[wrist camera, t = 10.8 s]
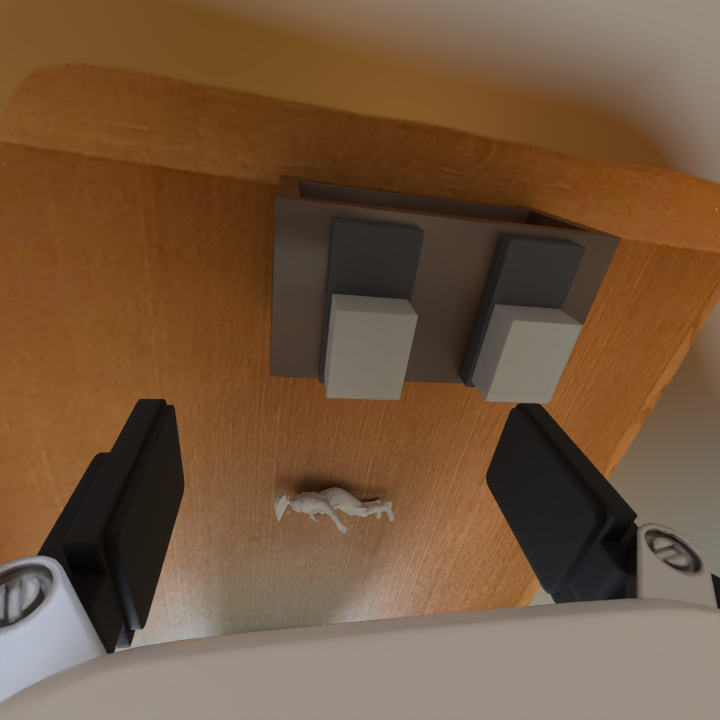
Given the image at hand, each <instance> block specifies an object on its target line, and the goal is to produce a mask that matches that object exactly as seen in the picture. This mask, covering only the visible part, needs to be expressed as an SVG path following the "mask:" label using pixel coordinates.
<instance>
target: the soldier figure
mask: <svg viewBox="0 0 720 720" xmlns="http://www.w3.org/2000/svg"><path fill="white" fill-rule="evenodd" d="M316 493H317V492H308V493H306V492H302V493H301V494H299V495H297V496H296V497H294V498H293V499H292V500H291V501H290V502H289V499H290V496H289V495H290V494H287V493H283V494H281V493H280V492H279V491H278V493H277V495H276V497H275V500H274V511H275V514H276V517H277V519H278V522H279V521H280V519H281V517H282V515H283V513H284V511H285V508H286V506H287V505H288V504H290V506H291V507H292V509H293V511H295V512H296V511H297V512H299V513H301V512H302V513H308V514H309V515H310V517H311V518H312V520H314V521H315V522H319V520H316V518H315V515H317V514H316V513H318V512H319V513H321V514H324V513H327V514H328V515H329V516H330V517H331V518H332V519H333V520H334V522H335V524H336V525H337V527H338V529H339V530H340V531H341V532H342V533H347V532H348V531H347V530H346V529H348V528H347V527H346V526H344V524H343V523H342V522H341V521H340V520H339V518H338V516H339V515H338V514H337V512H336V511H334V509H338V508H339V509H340V510H342V511H344V512H345V513H347V514H349V515H351V516H352V515H358V516H360V517H366V516H368V515H370V514H372V513H376V518H378V519H380V518H381V514H382V512H384V511H385V512H386V513H387V516H388V520H389V521H391V522H392V521H393V518H394V514H393V512H392V510H391V507H392V502H391V501H386V502H385V503H381V501H380V499H378V500H375V501H372V502H361V501H360V500H358V499H357V498H355V497H354V496H353V495H352V494H351V493H349V492H347V491H345V490H343V489H341V488H337V487H333V488H329V489H326V490H324V491H322V492H320V493H318V494H316ZM290 512H291V511H289V512H287V513H290ZM345 528H346V529H345ZM344 530H345V531H344ZM346 531H347V532H346Z"/></svg>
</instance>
